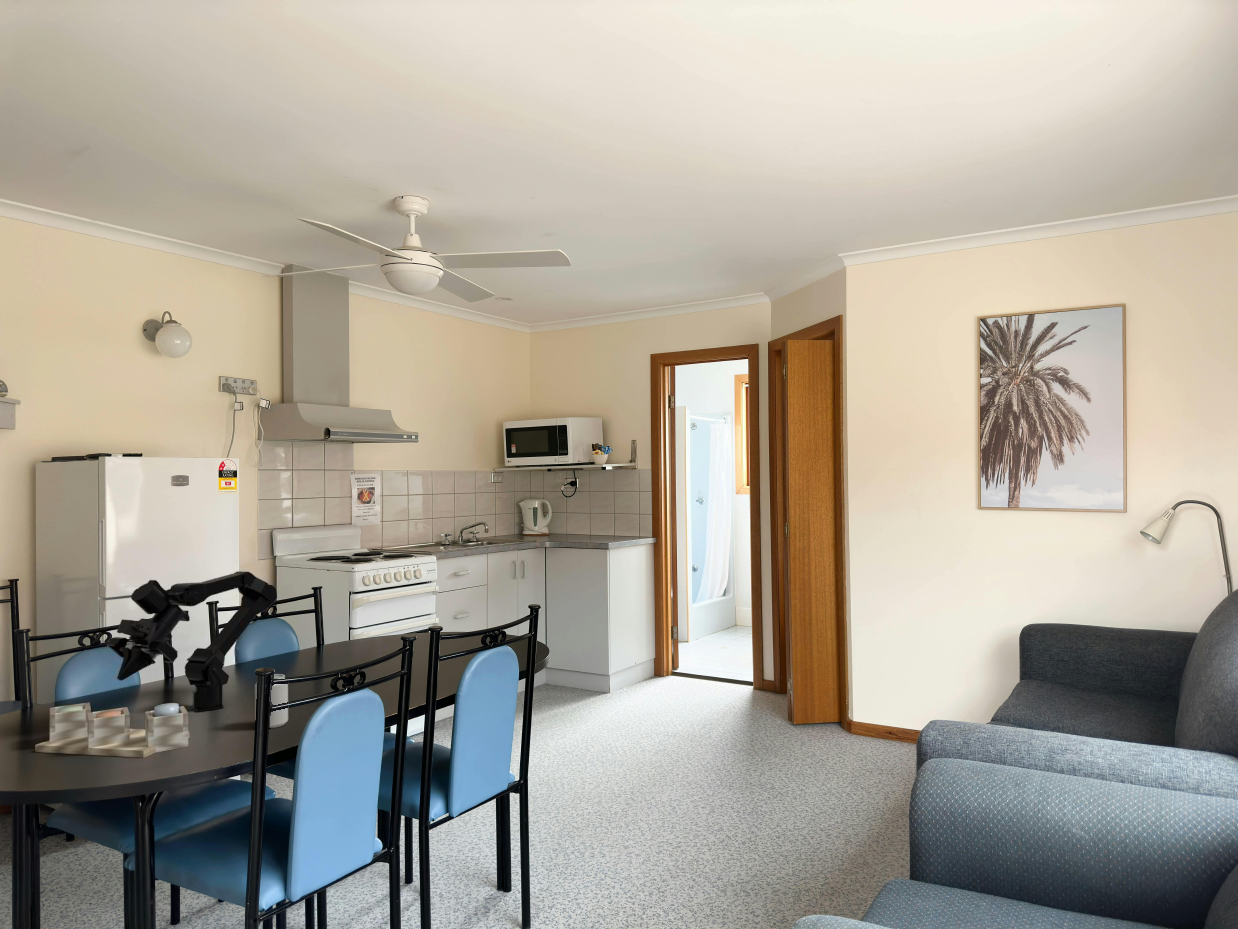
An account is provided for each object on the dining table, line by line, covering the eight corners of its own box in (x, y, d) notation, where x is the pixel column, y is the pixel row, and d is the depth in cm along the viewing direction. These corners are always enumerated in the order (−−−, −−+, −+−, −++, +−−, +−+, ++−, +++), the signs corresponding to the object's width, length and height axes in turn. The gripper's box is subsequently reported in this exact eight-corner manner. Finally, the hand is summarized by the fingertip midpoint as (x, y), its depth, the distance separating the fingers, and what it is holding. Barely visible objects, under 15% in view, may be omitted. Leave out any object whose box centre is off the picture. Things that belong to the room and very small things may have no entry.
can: (275, 730, 196) (275, 680, 196) (248, 729, 197) (247, 679, 197) (294, 721, 203) (294, 673, 203) (267, 720, 204) (267, 672, 205)
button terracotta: (120, 722, 188) (120, 709, 189) (121, 727, 185) (121, 714, 185) (95, 726, 186) (95, 713, 186) (96, 731, 182) (96, 717, 182)
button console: (72, 732, 197) (72, 701, 197) (206, 738, 190) (206, 706, 190) (18, 751, 183) (18, 717, 183) (160, 758, 176) (160, 723, 176)
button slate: (177, 715, 189) (177, 702, 189) (179, 719, 185) (179, 706, 185) (153, 718, 186) (153, 705, 186) (155, 723, 182) (155, 710, 182)
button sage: (82, 717, 194) (82, 704, 194) (82, 722, 190) (82, 709, 190) (57, 721, 191) (57, 708, 191) (57, 725, 187) (57, 712, 187)
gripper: (114, 604, 204) (69, 657, 193) (166, 607, 196) (123, 663, 186) (143, 631, 211) (101, 683, 200) (195, 634, 203) (154, 689, 193)
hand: (119, 679), depth 195 cm, fingers closed
